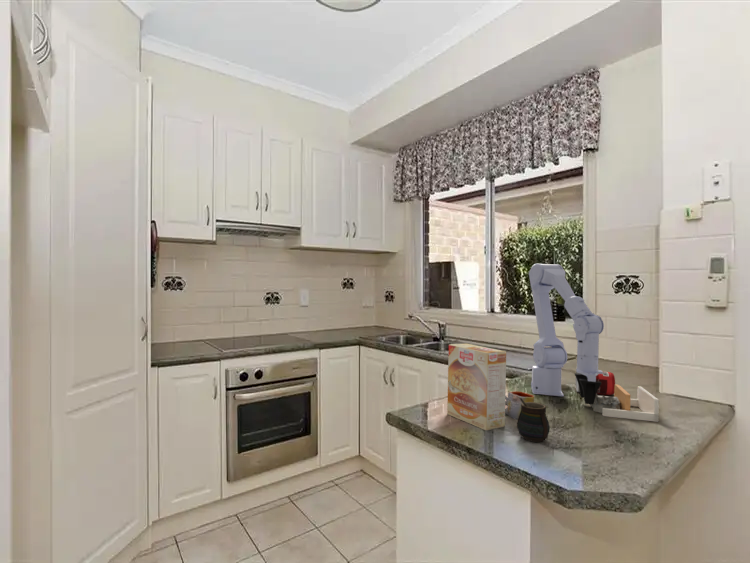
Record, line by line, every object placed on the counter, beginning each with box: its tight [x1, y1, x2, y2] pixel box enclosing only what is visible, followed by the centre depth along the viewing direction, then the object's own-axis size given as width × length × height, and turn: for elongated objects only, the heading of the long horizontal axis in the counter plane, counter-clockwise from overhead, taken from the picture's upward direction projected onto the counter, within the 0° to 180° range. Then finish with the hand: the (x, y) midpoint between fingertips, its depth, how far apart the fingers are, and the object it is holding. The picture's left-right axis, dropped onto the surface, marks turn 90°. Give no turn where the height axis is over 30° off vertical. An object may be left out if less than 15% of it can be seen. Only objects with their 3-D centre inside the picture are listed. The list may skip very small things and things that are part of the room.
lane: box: [598, 385, 660, 423], centre depth 123 cm, size 14×16×6 cm
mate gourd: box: [516, 398, 551, 443], centre depth 99 cm, size 7×8×10 cm
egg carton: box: [589, 394, 620, 414], centre depth 125 cm, size 11×8×4 cm
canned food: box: [575, 371, 616, 396], centre depth 143 cm, size 8×8×11 cm
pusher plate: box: [613, 383, 631, 411], centre depth 123 cm, size 1×13×6 cm, turn 162°
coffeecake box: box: [446, 342, 507, 432], centre depth 111 cm, size 15×7×20 cm, turn 31°
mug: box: [505, 390, 535, 421], centre depth 116 cm, size 12×7×7 cm, turn 52°
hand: (586, 400), depth 126 cm, fingers open, 7 cm apart
